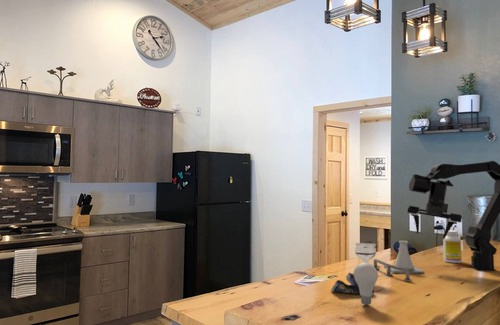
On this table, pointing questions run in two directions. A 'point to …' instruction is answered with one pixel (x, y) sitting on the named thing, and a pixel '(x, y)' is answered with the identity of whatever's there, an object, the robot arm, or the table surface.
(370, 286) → the lightbulb
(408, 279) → the bent rail
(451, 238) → the supplement bottle
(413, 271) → the slate coaster
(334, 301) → the table surface
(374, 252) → the wineglass
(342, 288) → the snack package
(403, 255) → the flask
